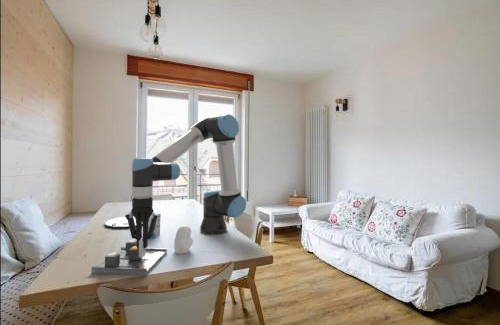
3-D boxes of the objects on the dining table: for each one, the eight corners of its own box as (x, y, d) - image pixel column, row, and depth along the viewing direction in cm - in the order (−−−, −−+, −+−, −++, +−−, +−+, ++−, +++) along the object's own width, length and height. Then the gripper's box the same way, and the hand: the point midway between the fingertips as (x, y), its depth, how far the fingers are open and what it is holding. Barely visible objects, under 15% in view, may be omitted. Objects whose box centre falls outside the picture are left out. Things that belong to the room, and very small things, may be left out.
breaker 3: (142, 257, 107) (142, 246, 107) (138, 260, 104) (138, 248, 104) (132, 257, 107) (132, 245, 107) (128, 259, 104) (128, 248, 104)
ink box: (151, 239, 134) (151, 216, 134) (142, 238, 135) (142, 215, 135) (160, 234, 143) (160, 213, 142) (152, 234, 144) (152, 212, 143)
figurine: (182, 255, 114) (183, 228, 114) (170, 252, 118) (170, 225, 118) (194, 250, 120) (194, 224, 120) (182, 247, 124) (182, 222, 124)
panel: (166, 253, 116) (166, 248, 116) (145, 275, 95) (145, 269, 95) (122, 252, 117) (122, 247, 117) (91, 273, 96) (91, 267, 96)
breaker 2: (138, 250, 115) (138, 239, 115) (135, 252, 112) (135, 242, 112) (129, 249, 115) (129, 239, 115) (125, 252, 112) (125, 241, 112)
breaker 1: (119, 264, 100) (119, 252, 100) (115, 268, 97) (115, 255, 97) (109, 264, 100) (109, 252, 100) (104, 267, 97) (104, 255, 97)
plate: (154, 225, 161) (154, 222, 161) (108, 232, 146) (108, 228, 146) (144, 217, 181) (144, 214, 181) (102, 222, 167) (102, 219, 167)
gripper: (162, 195, 108) (161, 252, 109) (130, 195, 109) (130, 251, 109) (155, 198, 101) (154, 260, 101) (121, 198, 101) (121, 259, 102)
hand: (142, 255), depth 105 cm, fingers closed
